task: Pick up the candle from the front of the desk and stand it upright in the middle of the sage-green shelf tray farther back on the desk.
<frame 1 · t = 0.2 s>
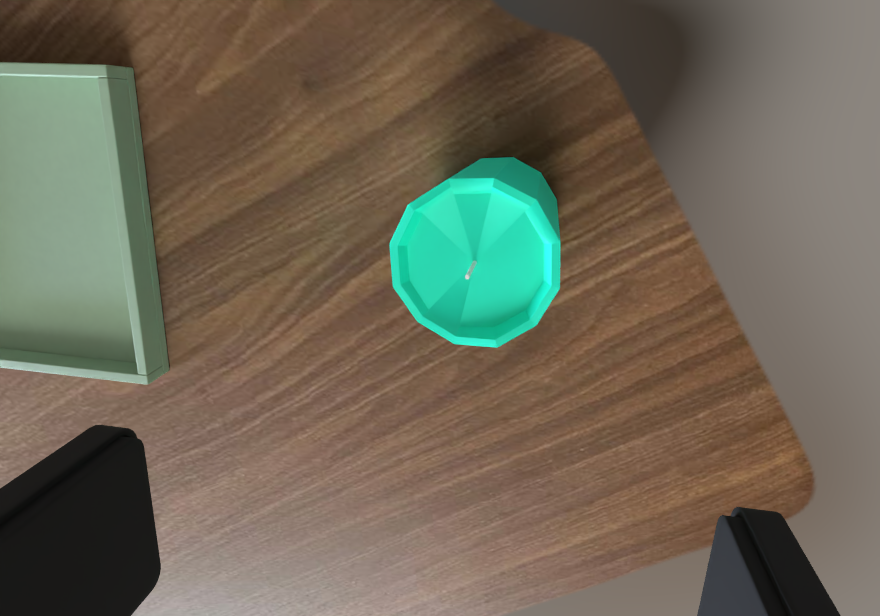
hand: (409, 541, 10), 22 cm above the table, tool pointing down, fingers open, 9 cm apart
candle: (498, 216, 30), on the table
shelf tray: (35, 222, 35), on the table
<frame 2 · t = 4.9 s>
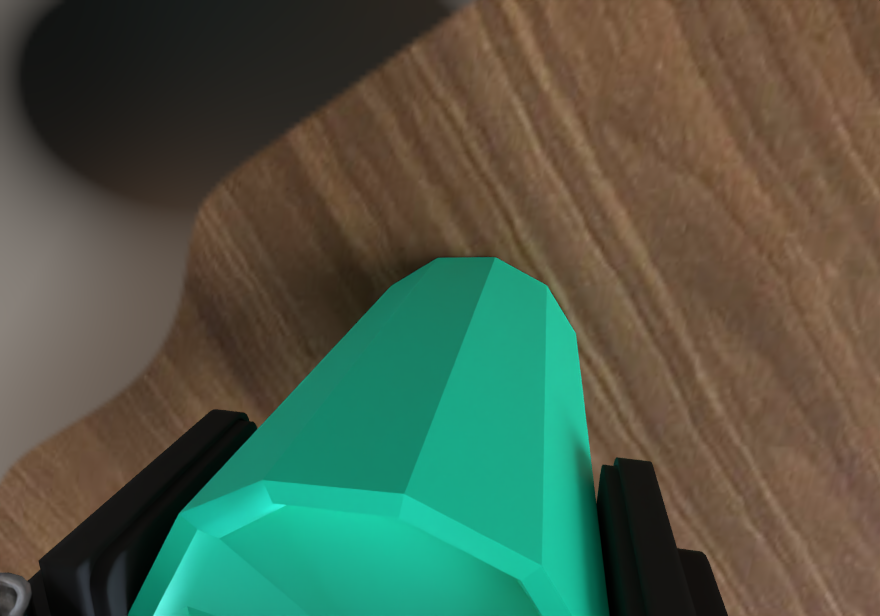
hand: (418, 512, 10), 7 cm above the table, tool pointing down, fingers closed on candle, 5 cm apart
candle: (470, 355, 17), on the table, touching gripper
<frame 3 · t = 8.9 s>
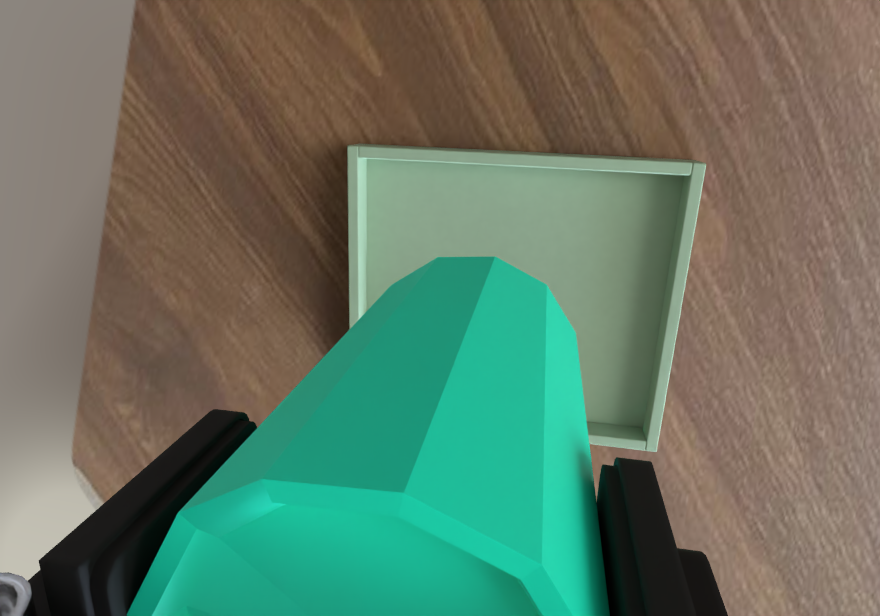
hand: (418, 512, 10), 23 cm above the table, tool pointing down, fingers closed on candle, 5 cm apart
candle: (470, 354, 17), point 16 cm above the table, touching gripper
shelf tray: (509, 292, 33), on the table
when the fingers open (8 cm above the table, at t = 13.0 s): candle stays where it is, resting on shelf tray.
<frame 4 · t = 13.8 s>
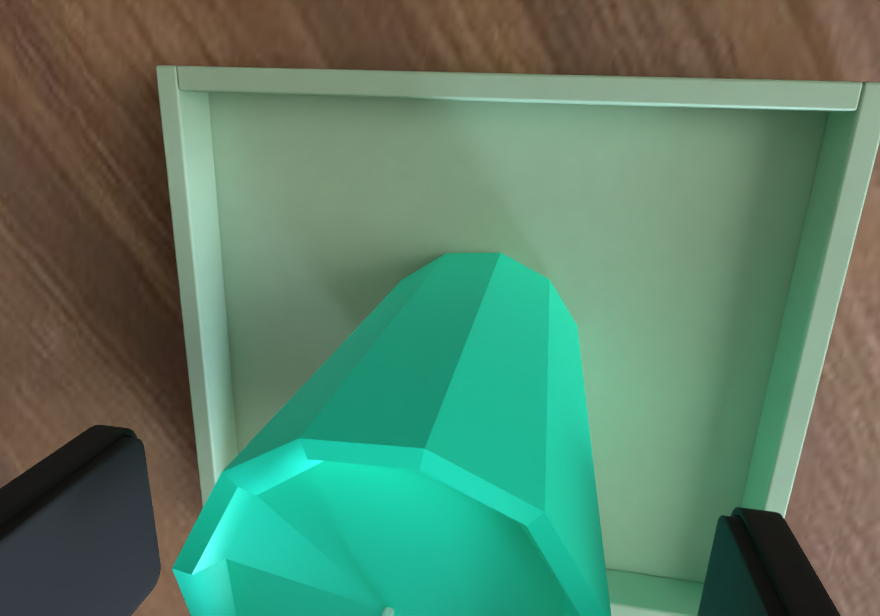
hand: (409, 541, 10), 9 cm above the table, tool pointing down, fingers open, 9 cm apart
candle: (477, 346, 18), resting on shelf tray
shelf tray: (480, 344, 18), on the table
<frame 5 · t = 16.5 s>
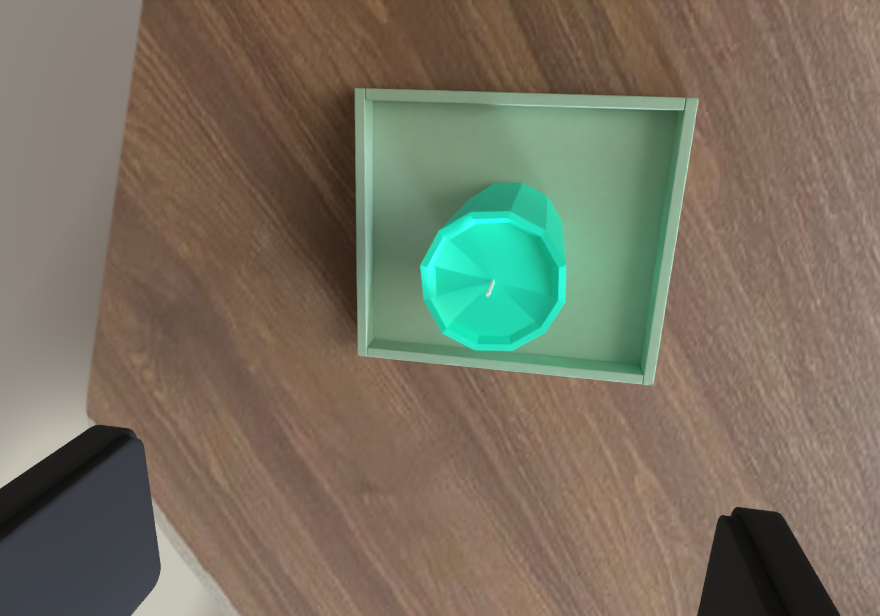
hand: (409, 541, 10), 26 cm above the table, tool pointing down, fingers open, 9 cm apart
candle: (509, 234, 34), resting on shelf tray
shelf tray: (510, 234, 34), on the table
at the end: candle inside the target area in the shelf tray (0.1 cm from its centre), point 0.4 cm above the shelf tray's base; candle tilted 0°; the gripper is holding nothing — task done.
